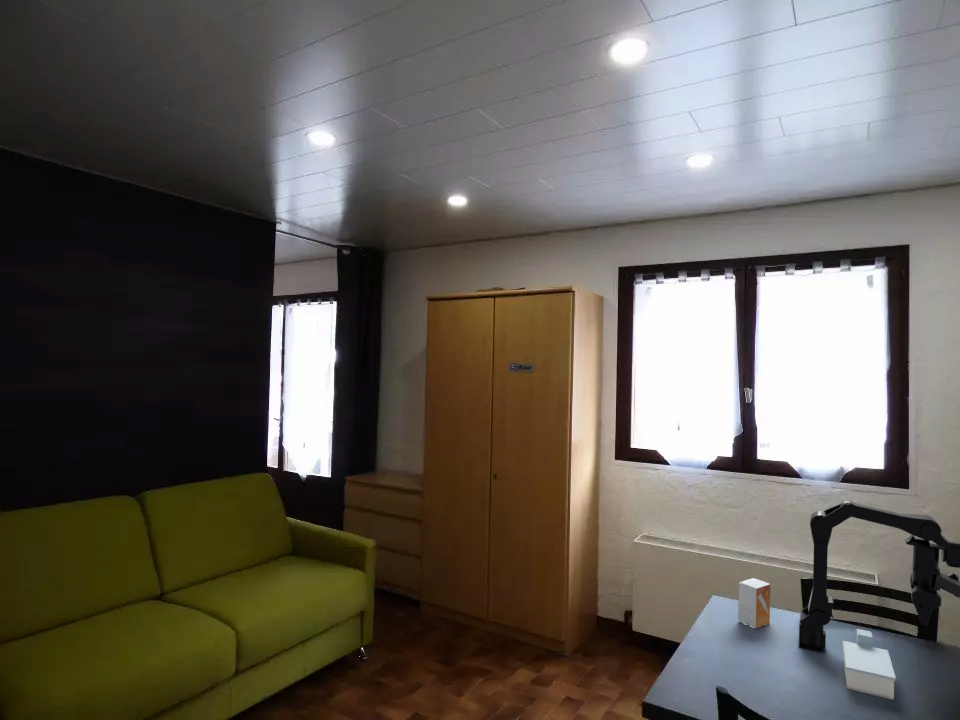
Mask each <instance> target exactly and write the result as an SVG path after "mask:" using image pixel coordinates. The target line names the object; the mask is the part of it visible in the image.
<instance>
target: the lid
mask: <svg viewBox="0 0 960 720" xmlns="http://www.w3.org/2000/svg"><path fill="white" fill-rule="evenodd" d="M873 638H874V637H873V634H872V631H869V630H865V629H861V628H860V629H859V628H856V639H855V641H856V642H855V643H854V642H850V641H846V640H842V650H843V660H844V659H845V667H846V670H850V671H854V672H859V673H863V674H867V675H872V676H876V677H881V678H885V679H889V680H894V682H896V681H897V677H896V674H895V670H894V667H893V664H892V661H891V657H890V653H889V650H888V649H883V648H879V647H874V646H873Z"/></svg>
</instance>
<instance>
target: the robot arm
mask: <svg viewBox="0 0 960 720" xmlns="http://www.w3.org/2000/svg"><path fill="white" fill-rule="evenodd" d="M809 518H810V519H809V527H810V531H811V538H812V542H813V562H812V563H813V569H812V571H813V572H812V589H811V593H810V596H809V601H808V604H807V606H805V608H803V609H802V610H801V611H800V614H799V621H798V623H799V625H798V640H797V641H798V643H797V644H798V647H799V648H802V649H807V650H811V651H815V652H820V653H824V652H825V651H824V650H825V649H826V644H827V641H826V639H827V637H826V636H827V634H826V631H825V630H824V626H826V625H828V624H829V623H830V622H831V619H834V609H833V608H834V597H833V596H829V595H828V590H827V589H828V587H827V586H828V547H829V543H830V540H831V536H832V531H833V528H835V527H837V526H839V525H841V524H842V523H844V521H846V520H848V519H850V518H854V519H857V520H863V521H866V522H871V523H875V524H879V525H882V526H883V525H884V526H888V527H891V528H896V529H898V530H902V531H904V532H906V533H908V534H910V536H908V537H907V538H905V539H904V542H905V544H906V545H908V546H912V563H911V564H912V571H911V572H912V573H910V575H909V583H910V584H909V585H910V588H911V596H910V597H911V602H912V604H913V606H914V609H915V610H916V613H917V615H918V618H919V621H920V623H921V625H922V626H926V627H927V626H928V624H929V622H930V618H931V616H932V612H933V610H935V609H937V608H940V607H942V596H941V594H940V593H939V591H941V590H943V591H945V592H947V593H949V594H952V595H953V596H954V597H956V598H958V599H960V578H959V576H958V574H956V573H954V572H950V573H948V574H946V573H944V574H943V572H941V571H940V566H939V564H940V559H941V562H942V563H945V566H947V567H950V568H956V569H960V542H956V541H949V540H948V539H947V538H946V537H945V536H944V535H943V534H942V527H941V526H940V524H939V523H938V522H937V521H936V519H935V518H934V517H933V516H930V515H927V514H919V513H918V514H917V513H899V512H894V511H890V510H886V509H882V508H881V509H880V508H878V507H873V506H869V505H864V504H860V503H857V502H856V503H855V502H853V501H851V500H844V501H842V502H841V503H839V504H837V505H834V506H832V507H829V508H826V509H825V510H823V511H822V510H817V511H814V512H812V514H811V515H810V517H809ZM931 541H932V542H933V543H931Z"/></svg>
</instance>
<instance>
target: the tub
mask: <svg viewBox="0 0 960 720" xmlns="http://www.w3.org/2000/svg"><path fill="white" fill-rule="evenodd" d="M843 668H844V669H843V670H844V677H845V685H846V690H850V691H856V692H859V693H863V694H866V695H867V694H868V695H870V696H876V697H878V698H879V697H880V698H884V699H887V700H891V701H894V700H895V681H894V680H889V679H885V678H881V677H876V676H872V675H867V674H863V673H859V672H854V671H850V670H846V667H845V659H844V658H843Z"/></svg>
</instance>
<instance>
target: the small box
mask: <svg viewBox="0 0 960 720" xmlns="http://www.w3.org/2000/svg"><path fill="white" fill-rule="evenodd" d="M737 607H738V608H737V609H738V612H737V613H738V614H737V621H738V620H739V621H741V622H743V623H745V624H748V625H750V626H752V627H754V628H757V629H759V628H762V627H764V626H763V625H765V624H767V625H769V624H771V623H770V622H771V621H770V620H771V618H770V617H771V616H770V615H771V614H770V613H771V583H769V582H766V581H763V580H760V579H757V578H754V577H752V578H749V579H745V580H743V581H739V582H738V606H737ZM761 626H762V627H761ZM765 626H766V625H765ZM758 627H759V628H758ZM754 628H753V629H754Z"/></svg>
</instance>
